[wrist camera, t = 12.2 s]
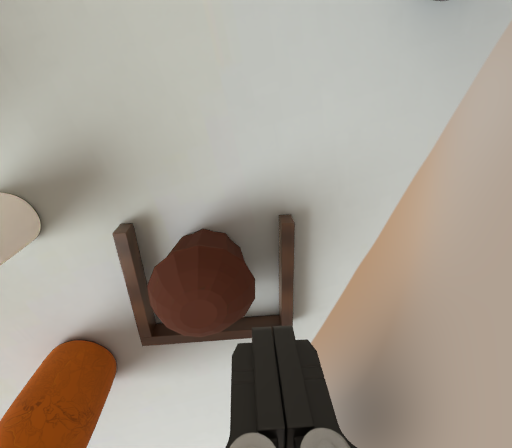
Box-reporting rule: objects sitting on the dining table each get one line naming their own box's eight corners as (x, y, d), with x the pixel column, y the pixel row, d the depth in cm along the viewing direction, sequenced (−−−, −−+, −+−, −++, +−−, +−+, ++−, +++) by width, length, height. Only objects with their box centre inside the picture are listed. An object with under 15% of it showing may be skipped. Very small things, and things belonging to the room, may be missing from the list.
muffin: (211, 200, 35) (203, 240, 26) (270, 261, 39) (281, 314, 30) (142, 259, 37) (112, 314, 28) (203, 310, 41) (194, 372, 32)
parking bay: (120, 224, 35) (112, 233, 33) (291, 214, 36) (294, 222, 34) (147, 332, 42) (142, 346, 40) (289, 322, 43) (292, 335, 41)
